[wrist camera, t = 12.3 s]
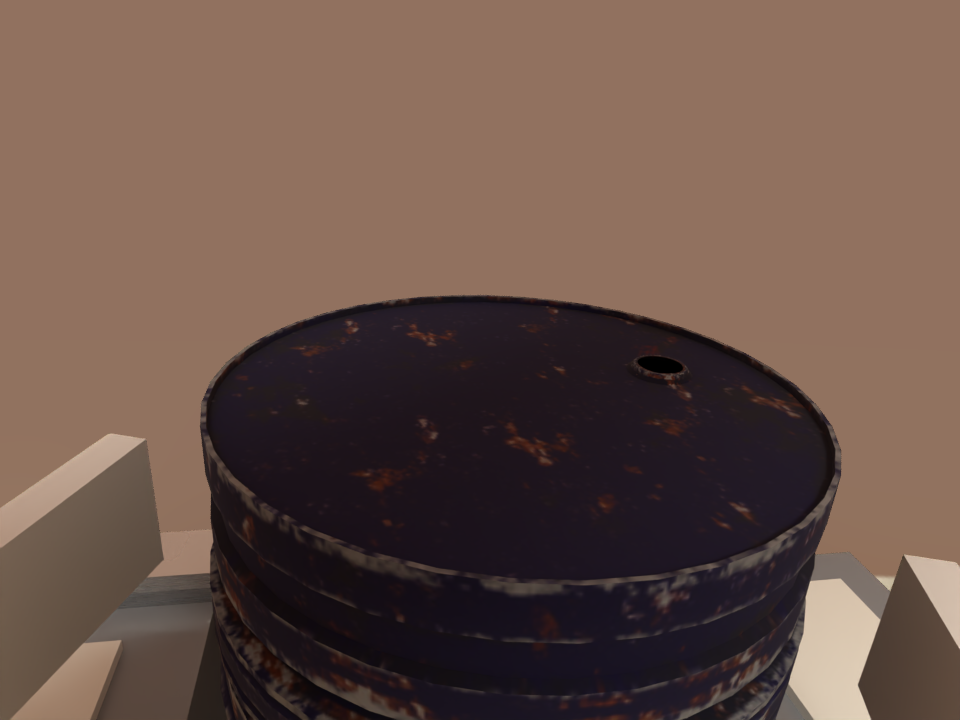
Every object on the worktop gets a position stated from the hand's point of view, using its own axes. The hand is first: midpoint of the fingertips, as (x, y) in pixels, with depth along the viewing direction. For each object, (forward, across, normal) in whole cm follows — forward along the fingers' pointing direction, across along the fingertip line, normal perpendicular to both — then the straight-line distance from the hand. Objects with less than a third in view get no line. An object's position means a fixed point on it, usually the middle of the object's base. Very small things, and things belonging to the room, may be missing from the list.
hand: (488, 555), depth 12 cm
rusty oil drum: (0, 0, -12) cm, 12 cm away
